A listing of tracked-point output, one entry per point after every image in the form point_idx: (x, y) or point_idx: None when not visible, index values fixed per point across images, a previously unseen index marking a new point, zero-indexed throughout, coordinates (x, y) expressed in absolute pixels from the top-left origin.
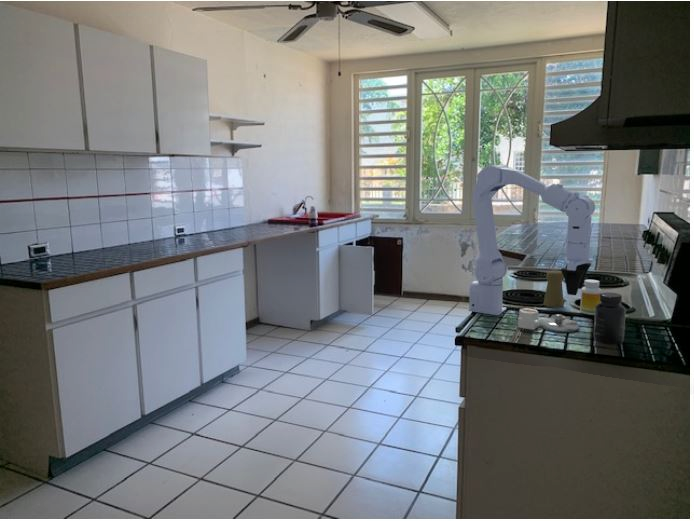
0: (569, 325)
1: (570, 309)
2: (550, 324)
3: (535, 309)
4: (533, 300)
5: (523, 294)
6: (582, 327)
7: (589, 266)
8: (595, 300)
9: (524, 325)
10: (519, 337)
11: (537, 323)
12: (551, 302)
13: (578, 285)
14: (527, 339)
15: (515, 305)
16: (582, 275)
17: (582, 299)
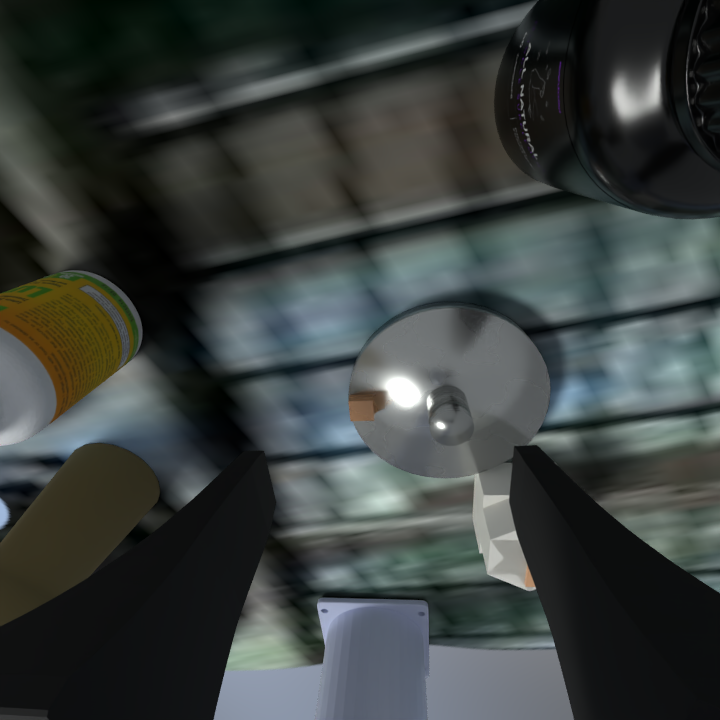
0: (464, 348)
1: (121, 408)
2: (494, 426)
3: (492, 540)
4: (116, 551)
5: None
6: (393, 289)
7: (83, 668)
8: (58, 320)
9: None
10: (696, 483)
11: (499, 473)
12: (142, 498)
13: (599, 511)
14: (717, 453)
15: None
16: (201, 566)
17: (87, 392)
